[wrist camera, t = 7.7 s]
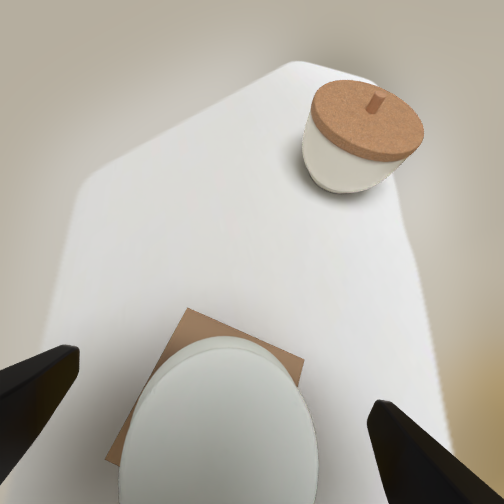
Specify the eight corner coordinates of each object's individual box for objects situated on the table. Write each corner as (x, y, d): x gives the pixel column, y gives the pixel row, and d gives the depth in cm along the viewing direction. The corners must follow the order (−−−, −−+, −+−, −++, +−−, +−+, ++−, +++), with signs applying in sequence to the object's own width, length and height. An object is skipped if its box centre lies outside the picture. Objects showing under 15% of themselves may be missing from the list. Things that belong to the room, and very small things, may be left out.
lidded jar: (307, 132, 32) (340, 48, 24) (383, 166, 31) (443, 90, 23) (275, 183, 27) (303, 97, 19) (364, 225, 26) (434, 155, 18)
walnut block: (247, 498, 15) (258, 535, 11) (129, 441, 15) (104, 459, 12) (286, 363, 19) (304, 359, 15) (191, 321, 19) (187, 307, 16)
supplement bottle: (246, 340, 15) (289, 289, 7) (281, 440, 13) (408, 545, 5) (155, 376, 14) (65, 366, 5) (179, 495, 11) (92, 807, 3)
